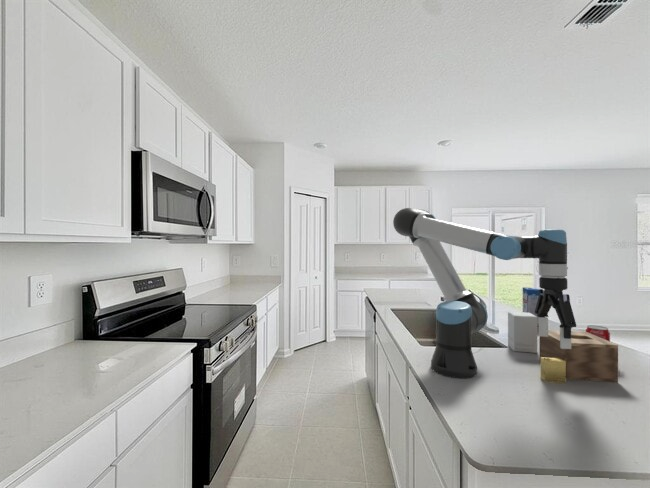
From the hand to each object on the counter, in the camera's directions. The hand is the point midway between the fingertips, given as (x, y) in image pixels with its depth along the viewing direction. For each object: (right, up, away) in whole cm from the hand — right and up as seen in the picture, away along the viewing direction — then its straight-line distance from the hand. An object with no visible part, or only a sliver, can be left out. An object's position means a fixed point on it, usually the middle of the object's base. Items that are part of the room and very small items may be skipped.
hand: (553, 342), depth 106 cm
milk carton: (+40, -13, +74) cm, 85 cm away
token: (0, -13, 0) cm, 13 cm away
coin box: (+13, -13, +8) cm, 20 cm away
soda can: (+29, -13, +18) cm, 36 cm away
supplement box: (+9, -13, +32) cm, 36 cm away
